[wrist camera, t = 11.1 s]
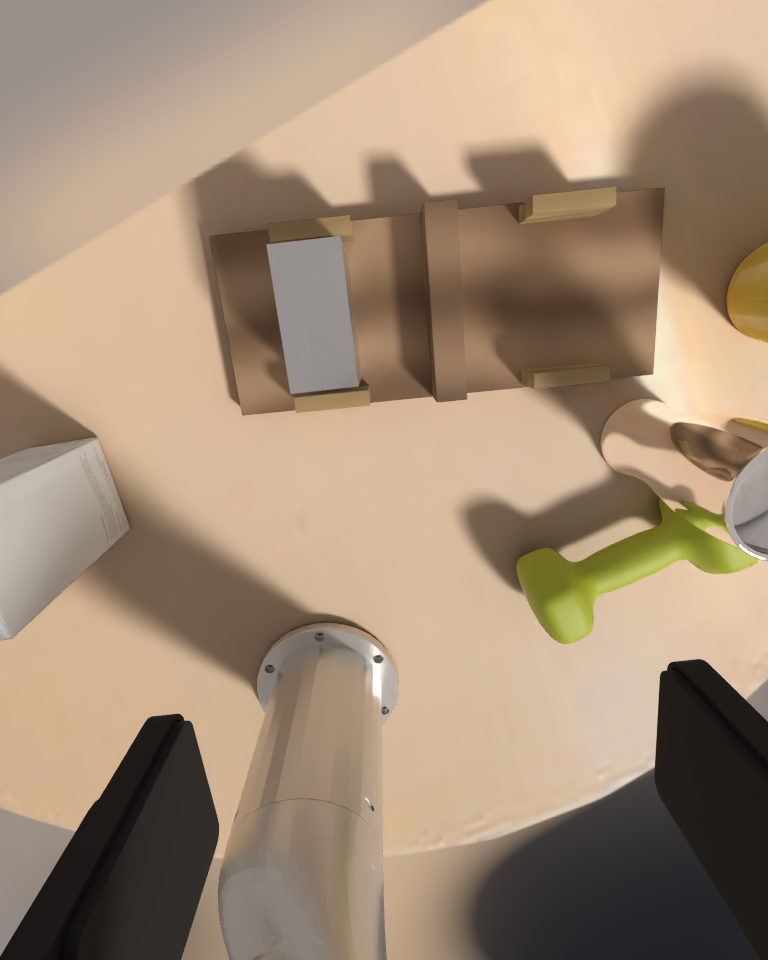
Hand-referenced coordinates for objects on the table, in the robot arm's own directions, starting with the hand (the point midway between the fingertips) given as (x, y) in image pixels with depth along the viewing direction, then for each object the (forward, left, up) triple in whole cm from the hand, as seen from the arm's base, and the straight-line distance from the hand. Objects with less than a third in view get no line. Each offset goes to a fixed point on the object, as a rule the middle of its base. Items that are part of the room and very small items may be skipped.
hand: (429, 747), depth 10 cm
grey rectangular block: (+9, +4, -28) cm, 30 cm away
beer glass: (-2, -19, -30) cm, 36 cm away
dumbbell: (-11, -17, -30) cm, 36 cm away
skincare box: (-2, +25, -30) cm, 39 cm away
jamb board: (+9, -4, -30) cm, 31 cm away
